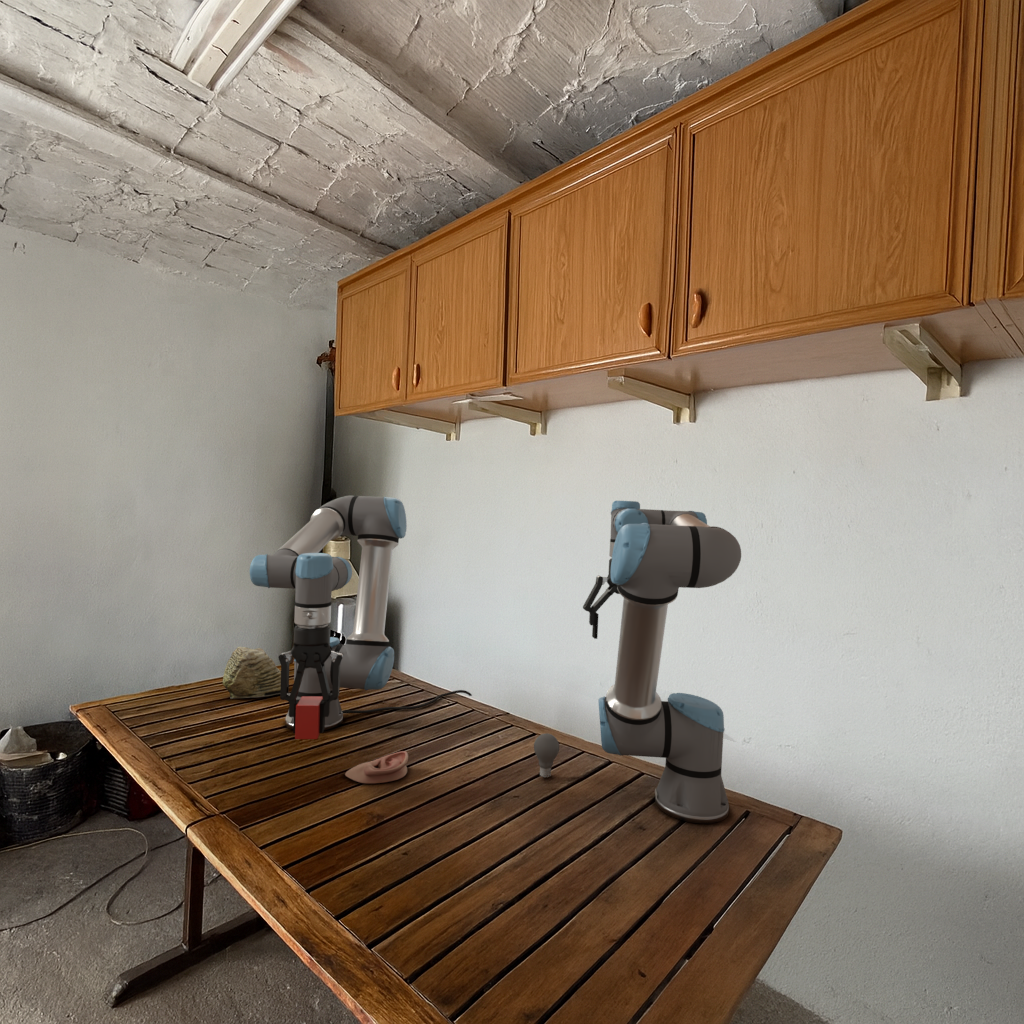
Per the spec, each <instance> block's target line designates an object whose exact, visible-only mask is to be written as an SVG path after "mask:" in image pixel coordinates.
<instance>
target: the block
mask: <svg viewBox="0 0 1024 1024" xmlns="http://www.w3.org/2000/svg"><path fill="white" fill-rule="evenodd" d="M322 700H323V696H302V697H301V699H300V700H299V702H298V704H297V705H296V724H295V733H294V740H318V738H319V736H320V734H321V733H319V719H320V703H321V701H322Z"/></svg>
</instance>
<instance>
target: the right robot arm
mask: <svg viewBox="0 0 1024 1024" xmlns="http://www.w3.org/2000/svg"><path fill="white" fill-rule="evenodd" d="M609 557H610V558H609V560H608V574H607V576H601V575H597V576H596V577H595V583H594V585H593V587H592V589H591V591H590V592H589V594H588V597H587V598H586V600H585V602H584V603H583V605H582V609H583V610H584V611H586V612H588V613H589V616H588V617H589V618H588V619H589V620H588V623H589V625H590V626H592V630H591V631H592V632H591V633H592V634H591V637H592V638H593V639H594V640H597V639H598V636H599V635H598V634H599V633H598V632H599V613H597V612H598V611H599V610H600V608H601V607H603V605H604V604H605V603H606V602H607V601H608V599H610V597H611V596H613V595H614V594H616V595H620V596H621V597H622V598H623V601H622V611H621V619H620V628H619V629H620V630H619V640H618V649H617V657H616V667H615V668H616V669H615V677H614V684H612V685H611V686H610V687H609V688H608V689H607V691H606V696H603V697H599V698H598V699H597V700H598V714H599V715H598V717H599V727H600V728H599V729H600V741H601V749H602V750H603V751H604V752H605V753H607V754H611V755H617V756H622V757H623V756H628V757H629V756H630V757H647V758H650V757H651V758H662V759H665V765H664V768H663V771H662V774H661V776H660V779H659V781H658V784H657V786H656V787H655V789H654V794H655V795H654V802H655V805H656V807H657V808H658V809H660V810H661V811H662V812H663V813H665V814H666V815H667V816H668V815H669V816H670V817H672V818H674V819H677V820H680V821H684V822H688V823H693V824H714V823H720V822H722V821H723V820H725V819H727V817H728V815H729V809H730V808H729V807H730V804H729V799H728V794H727V791H726V788H725V785H724V781H723V777H722V765H723V749H724V748H723V747H724V732H725V731H726V730H725V716H724V711H723V709H722V708H721V707H720V705H718V704H716V703H715V702H713V701H711V700H709V699H707V698H705V697H701V696H698V695H695V694H692V693H691V694H690V693H686V692H685V693H684V692H676V693H675V692H672V693H670V694H669V696H668V697H667V700H665V701H663V700H662V699H661V696H660V694H659V693H658V692H657V687H658V680H659V673H660V665H661V657H662V652H663V651H662V650H663V644H664V636H665V629H666V623H667V622H666V621H667V615H668V606H669V604H671V603H673V602H674V601H675V600H676V599H677V598H678V595H679V588H685V589H686V588H687V589H688V588H689V589H704V588H709V587H713V586H716V585H718V584H721V583H723V582H725V581H726V580H728V579H730V578H731V577H732V576H733V574H734V573H736V571H737V569H738V568H739V566H740V563H741V561H742V560H741V559H742V549H741V545H740V543H739V541H738V539H737V538H736V536H735V535H733V534H732V533H731V532H729V531H728V530H726V529H725V528H723V527H719V526H715V525H713V526H710V525H709V524H708V519H707V515H706V514H705V513H704V512H702V511H694V510H663V509H646V508H641V504H640V502H639V501H636V500H635V501H634V500H613V502H612V503H611V510H610V539H609ZM605 583H606V584H608V587H606V589H605V591H604V592H603V593H602V594H601V595H600V596H599V598H597V596H598V594H599V592H600V591H601V588H602V587H603V586H604V585H605ZM596 598H597V600H596ZM595 600H596V601H595Z"/></svg>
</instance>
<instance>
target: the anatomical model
mask: <svg viewBox="0 0 1024 1024" xmlns="http://www.w3.org/2000/svg"><path fill="white" fill-rule="evenodd" d="M408 761H409V753H408V752H407V751H404V750H402V751H397V752H394V753H393V752H392V753H390V754H387V755H384V756H381V757H378V758H376V759H373V760H371V761H367V762H362V763H359V764H357V765H355V766H353V767H351V768H350V769H348V770H347V771H346V772H345V773H344V775H345V777H347V778H348V779H349V780H352V781H354V782H358V783H360V784H380V783H388V782H393V781H397V780H400V779H402V778H404V777H405V776H406V775H407V773H408V767H407V763H408Z"/></svg>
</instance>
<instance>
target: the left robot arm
mask: <svg viewBox="0 0 1024 1024" xmlns="http://www.w3.org/2000/svg"><path fill="white" fill-rule="evenodd" d="M407 527H408V525H407V514H406V509H405V505H404V504H403V501H402V500H401V499H400V498H397V497H392V496H391V497H390V496H371V495H370V496H369V495H368V496H367V495H344V496H340V497H338V498H335V499H332V500H330V501H328V502H326V503H324V504H323V505H321V506H320V507H318V508H317V509H316V510H315V511H313V512H312V515H310V520H309V521H308V522H307V523H306V524H305V525H304V526H303V527H301V528H300V529H299V530H298V531H297V532H296V533H295V534H294V535H293V536H291V537H290V538H289V539H288V540H287V541H286V542H285V543H284V544H283V545H281V546H280V547H279V548H278V549H277V550H276V551H275V552H273V554H268V553H266V554H257V555H255V556H254V557H253V559H252V561H251V562H250V566H249V578H250V581H251V583H252V584H253V586H256V587H262V588H268V589H292V590H293V589H294V590H295V599H294V600H295V601H294V621H293V622H294V624H295V626H294V628H293V646H292V648H291V650H289V651H282V652H281V653H280V654H279V655H278V661H279V664H280V672H281V689H280V694H279V696H280V700H281V701H287V702H288V711H287V713H286V715H285V726H286V728H287V729H289V730H291V731H293V732H292V733H293V734H295V724H296V705H297V704H298V702H299V700H300V699H301V697H302V696H323V700H322V701H321V703H320V719H319V733H320V734H323V733H324V732H325V731H329V730H332V729H335V728H337V727H339V726H340V725H342V723H343V722H344V714H370V713H377V712H382V711H392V710H393V711H395V710H397V711H398V710H399V711H400V710H402V711H404V710H405V711H406V710H407V711H408V710H416V709H420V708H424V707H426V706H429V705H431V704H433V703H435V702H437V701H438V700H440V698H443V697H447V696H451V695H454V694H455V695H456V694H466V695H467V696H469V697H472V696H473V694H472V693H471V692H469V691H467V690H464V689H458V690H453V691H449V692H446V693H445V692H444V693H442V694H439V695H437V696H436V697H435V698H434V699H431V700H430V701H427V702H424V703H422V704H418V705H411V706H385V707H379V708H373V709H362V710H361V709H359V710H357V709H356V710H355V709H354V710H353V709H350V710H349V709H348V710H347V709H346V710H343V709H342V706H341V702H340V699H339V696H340V690H341V689H355V690H356V689H357V690H364V691H370V690H371V691H372V690H375V691H376V690H377V691H378V690H382V689H383V688H384V687H385V686H386V685H387V684H388V682H389V680H390V677H391V675H392V671H393V668H394V663H395V650H394V648H393V647H391V646H390V640H389V639H388V637H387V636H386V635H385V628H386V621H387V620H386V618H387V611H388V610H387V608H388V600H389V590H390V589H389V588H390V578H391V571H392V570H391V569H392V559H393V551H394V549H395V548H397V547H398V546H399V543H400V539H404V538H405V537H406V535H407ZM340 536H355V537H357V543H358V544H359V545H360V547H361V553H360V554H361V556H360V565H359V575H358V582H357V592H356V600H355V609H354V610H355V611H354V620H353V629H352V633H351V634H350V635H348V636H347V637H346V641H345V644H341V641H340V639H339V638H338V637H334V636H331V626H330V625H329V624H330V623H331V622H332V618H331V617H332V596H333V595H332V593H333V592H335V591H337V590H338V591H339V590H340V589H343V588H344V587H345V586H347V584H348V583H350V581H351V579H352V576H353V569H352V566H351V564H350V562H349V561H348V560H347V559H346V558H344V557H341V556H332V555H331V554H330V553H326V552H321V551H322V550H323V549H324V548H325V547H326V545H327V544H329V542H331V541H333V540H334V541H335V540H336V539H338V538H339V537H340ZM292 657H293V661H294V670H293V671H294V672H293V684H292V686H291V691H289V690H290V662H291V660H292Z"/></svg>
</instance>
